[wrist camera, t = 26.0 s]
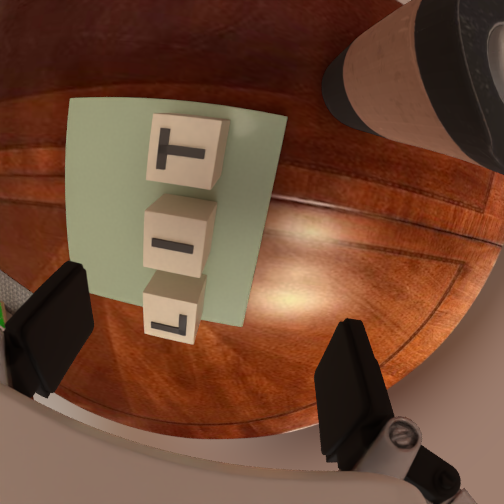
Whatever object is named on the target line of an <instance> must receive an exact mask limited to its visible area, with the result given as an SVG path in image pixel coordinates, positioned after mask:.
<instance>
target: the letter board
mask: <svg viewBox="0 0 504 504" xmlns="http://www.w3.org/2000/svg"><path fill="white" fill-rule="evenodd" d="M153 113H180V114H189V115H198V116H206V117H214V118H221V119H228V120H230V126H229V132H228V137H227V143H226V149H225V155H224V161H223V167H222V173H221V177H220V178H219V179H218V181H217V182H216V183H215V185H214V186H213V188H212V189H211V190H207V189H201V188H195V187H189V186H183V185H176V184H170V183H163V182H156V181H149V180H146V171H147V160H148V151H149V142H150V133H151V125H152V118H153ZM287 118H288V117H286V116H281V115H276V114H271V113H266V112H261V111H255V110H249V109H243V108H237V107H231V106H224V105H216V104H209V103H200V102H191V101H181V100H168V99H153V98H130V97H86V98H70V103H69V112H68V123H67V137H66V159H65V197H66V220H67V234H68V245H69V255H70V261H73V262H77V263H81V264H82V265H83V268H84V269H86V272H87V280H88V288H89V293H92V294H96V295H99V296H103V297H107V298H111V299H114V300H118V301H122V302H126V303H130V304H134V305H138V306H142V307H143V291H144V289H145V288H146V286H147V285H148V283H149V281H150V280H151V278H152V277H153V275H154V273H155V272H156V270H157V269H152V268H148V267H143V237H144V213H145V210H146V209H147V208H148V207H149V206H150V205H151V204H153V203H154V202H155V201H156V200H157V199H158V198H160V197H161V196H162V195H163V194H165V193H166V194H172V195H178V196H184V197H191V198H197V199H202V200H208V201H214V202H217V209H216V216H215V223H214V230H213V237H212V244H211V251H210V254H209V256H208V259H207V262H206V264H205V267H204V270H203V272H202V274H205V275H207V279H206V288H205V296H204V304H203V313H202V317H201V320H206V321H212V322H217V323H222V324H227V325H233V326H239V327H242V326H243V322H244V317H245V313H246V308H247V304H248V299H249V294H250V290H251V285H252V281H253V276H254V272H255V267H256V263H257V258H258V253H259V249H260V244H261V240H262V235H263V230H264V226H265V221H266V216H267V212H268V207H269V203H270V198H271V193H272V189H273V184H274V179H275V174H276V170H277V165H278V160H279V156H280V151H281V146H282V141H283V137H284V132H285V127H286V122H287Z"/></svg>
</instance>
